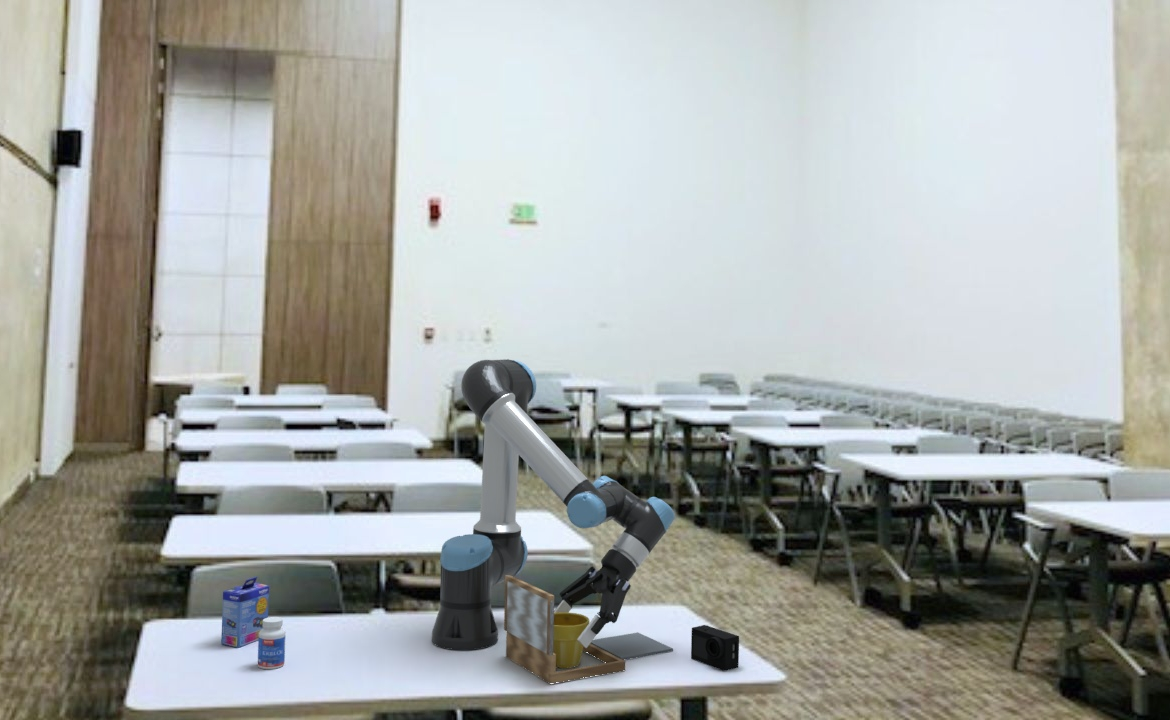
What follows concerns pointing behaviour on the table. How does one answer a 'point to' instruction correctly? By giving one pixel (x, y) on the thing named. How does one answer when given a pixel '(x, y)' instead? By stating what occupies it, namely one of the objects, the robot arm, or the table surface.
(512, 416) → the robot arm
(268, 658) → the pill bottle
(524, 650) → the cold frame
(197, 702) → the table surface
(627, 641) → the mat
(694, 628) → the digital camera
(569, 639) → the plant pot
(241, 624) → the ink cartridge box
